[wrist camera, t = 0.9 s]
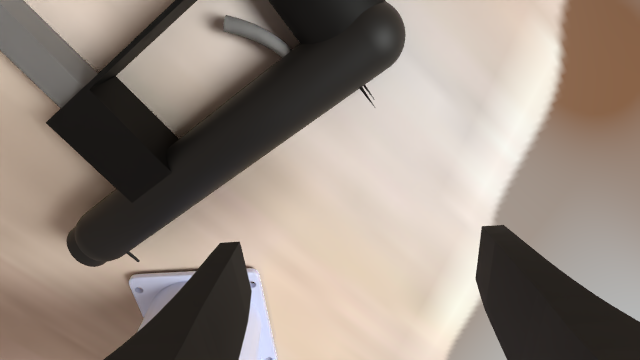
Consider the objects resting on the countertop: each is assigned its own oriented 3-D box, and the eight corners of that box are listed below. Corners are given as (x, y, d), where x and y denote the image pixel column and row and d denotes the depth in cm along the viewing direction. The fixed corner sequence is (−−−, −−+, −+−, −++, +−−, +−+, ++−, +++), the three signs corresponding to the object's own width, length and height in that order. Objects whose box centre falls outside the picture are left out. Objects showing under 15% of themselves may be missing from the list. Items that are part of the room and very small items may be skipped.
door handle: (-189, 48, 17) (112, 294, 23) (126, -424, 11) (439, 75, 16) (-112, 35, 20) (138, 256, 26) (172, -343, 14) (425, 57, 19)
